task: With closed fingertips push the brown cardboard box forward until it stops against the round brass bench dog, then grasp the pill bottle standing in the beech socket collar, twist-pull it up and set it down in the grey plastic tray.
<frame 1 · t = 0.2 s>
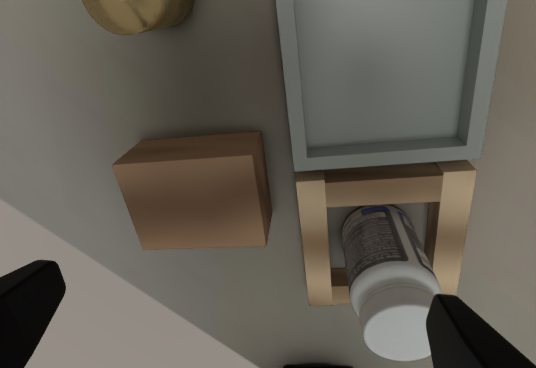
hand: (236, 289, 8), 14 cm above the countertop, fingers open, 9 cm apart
brown cardboard box: (209, 176, 23), on the countertop
pill bottle: (375, 229, 24), resting in socket collar
tray: (379, 56, 18), on the countertop
socket collar: (376, 231, 24), on the countertop
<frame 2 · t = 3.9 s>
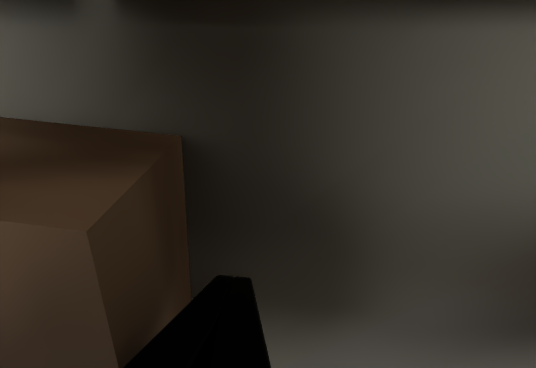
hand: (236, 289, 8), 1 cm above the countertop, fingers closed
brown cardboard box: (95, 248, 10), on the countertop, touching gripper
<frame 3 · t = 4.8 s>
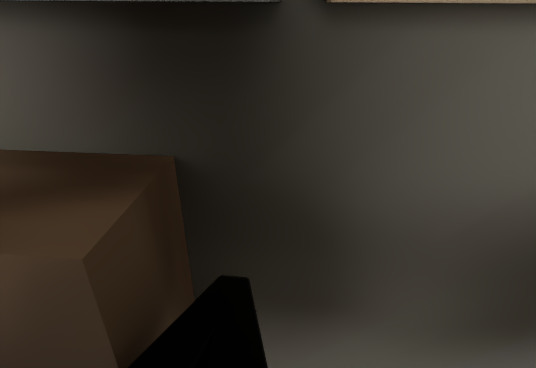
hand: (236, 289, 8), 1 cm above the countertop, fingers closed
brown cardboard box: (100, 268, 10), on the countertop, touching bench dog, gripper
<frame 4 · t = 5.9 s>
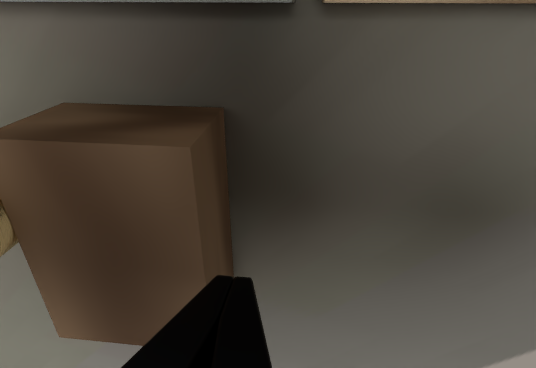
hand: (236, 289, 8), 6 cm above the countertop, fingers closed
brown cardboard box: (160, 198, 14), on the countertop
bench dog: (43, 168, 14), on the countertop
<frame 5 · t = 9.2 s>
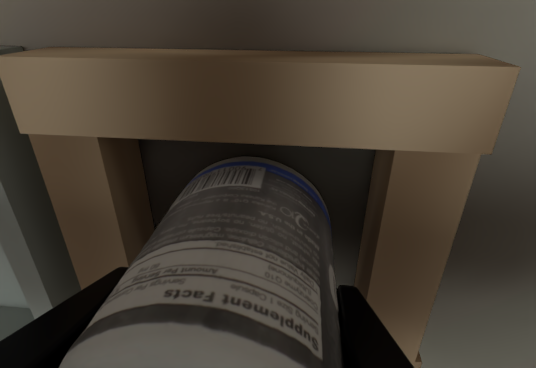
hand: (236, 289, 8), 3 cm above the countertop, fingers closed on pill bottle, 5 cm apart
pill bottle: (255, 218, 11), resting in socket collar, touching gripper
socket collar: (254, 222, 11), on the countertop
when the fingers open (4 cm above the countertop, at t = 13.5 s): pill bottle stays where it is, resting on tray.
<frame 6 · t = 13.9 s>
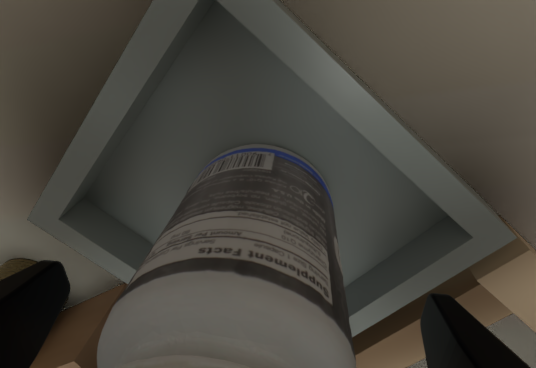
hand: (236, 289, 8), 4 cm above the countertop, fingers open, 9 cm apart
brown cardboard box: (111, 344, 17), on the countertop
pill bottle: (263, 202, 12), resting on tray
tray: (260, 195, 12), on the countertop
bench dog: (34, 285, 16), on the countertop
socket collar: (464, 357, 15), on the countertop
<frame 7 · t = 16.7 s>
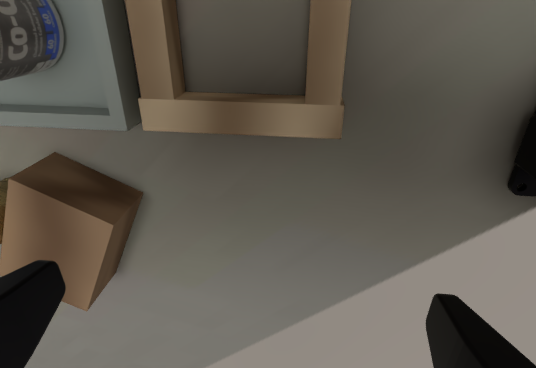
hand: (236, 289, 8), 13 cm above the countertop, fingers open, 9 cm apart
brown cardboard box: (90, 215, 24), on the countertop
pill bottle: (25, 23, 18), resting on tray
tray: (29, 24, 18), on the countertop
bench dog: (20, 198, 24), on the countertop
socket collar: (242, 26, 17), on the countertop
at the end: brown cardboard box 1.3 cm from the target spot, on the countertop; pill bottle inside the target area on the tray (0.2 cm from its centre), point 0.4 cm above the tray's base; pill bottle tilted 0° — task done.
